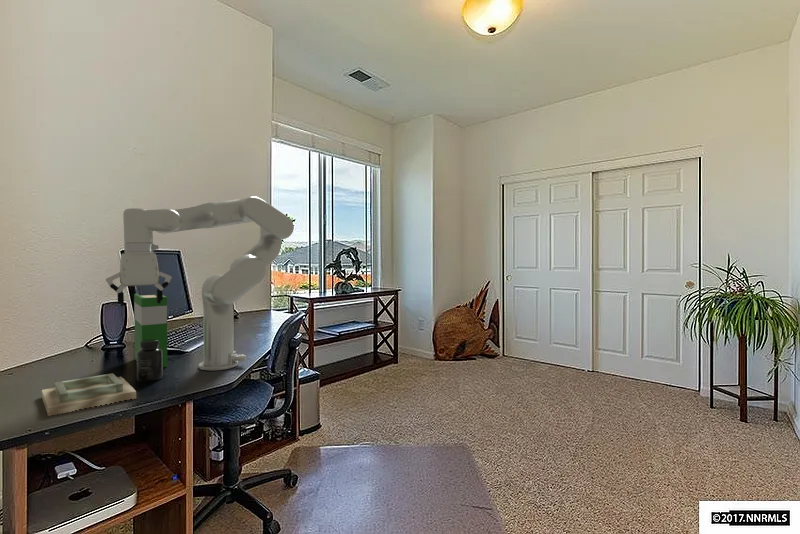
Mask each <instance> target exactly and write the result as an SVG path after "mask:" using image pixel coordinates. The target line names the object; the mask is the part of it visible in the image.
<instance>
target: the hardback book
mask: <svg viewBox="0 0 800 534" xmlns="http://www.w3.org/2000/svg"><path fill="white" fill-rule="evenodd" d="M162 295H163V300H161V303H157V297H156V292H155V293H154V294H148V295H147V294H146V295H140V294H138V293H134V296H133V298H134V300H133V303H134V305H133V306H134V307H133V308H134V312H133V313H134V317H133V318H134V361H135V360H136V361H137V352H138V351H139V350H141V348H140V346H141V345H140V342H141V341H143V340H151V339H156V340H158V341H159V346H158V348H160V349H161V350H162V360H163V368H167V367H168V296H165V295H164V294H162ZM136 361H135V362H136Z"/></svg>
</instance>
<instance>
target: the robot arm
mask: <svg viewBox="0 0 800 534" xmlns="http://www.w3.org/2000/svg"><path fill="white" fill-rule="evenodd" d="M122 217H123V219H122V220H123V241H124V243H123V245H124V248H123V249H124V250H123V251H124V253H121V256H120V261H119V262H120V264H119V272H117V273H115V274H113V275H110V276H108V277H107V278H105V281H106V282H107V284H108V286H109V287H110V288H111V289H112V290H113V291H115V292H116V293H117V303H118V304H120V307H124V306H125V300H124V299H125V295H124V292H123V291H124V290H125V288H126V287H141V286H142V287H143V286H154V287H156V289H157V290H156V292H155V293H156V297H157V303H161V300H163V295H164V294H163V290H165V288H167V287H168V286H169V283H170V282H171V281H172V278H173V276H171V275H170V274H168V273H164V272H162V271H160V270H159V263H158V257H157V254H156V252H155V253H154V251H156V250H159V245H157V244H154V233H153V232H156V233H158V234H162V235H164V234H171V233H172V234H173V233H178V232H183V231H184V232H185V231H190V230H191V231H192V230H199V229H203V230H204V229H214V228H220V227H226V226H233V225H239V224H247V223H252V222H253V223H255V224H256V225H258V226H259V227H260V228H259V230H260V232H259V233H260V236H259V240H258V242H257V243H256V244H255V245H253V246H252V247H251V248H250V249H248V250H247V251H246V252H244V253H243V254H242V255H240V256H238V257H236V259H234V260H233V261H232V263H231V264H230V267H229V270H228V271H227V272H225V273H224V274H212V275H211V276H208V277H207V278H206V279H205V280H204V282H203V284H202V286H201V300H202V306H203V307H202V309H203V316H202V317H203V361H201V362H199V363H198V368H199V370H202V371H212V372H213V371H222V370H229V369H233V368H234V367H237V366H238V365H239V362H246V361H247V356H246V355H245V354H238V353H237V350H234V347H235V345H234V332H235V331H234V328H235V325H234V322H235V321H234V319H235V318H234V303H235V302H237V301H238V300H240V299H242V298H243V297H244V296H245V295H246V294H248V293H249V292H250V291H251V290H253V289H254V288H255V287H257V285H259V284H260V283H261V282H262V281H263V280H264V278H265V276H266V274H267V267H268V266H269V265H270V264H271V263H273V262H274V260H276V259H277V258H278V256H279V255H280V252H281V249H282V242H283V241H282V240H285V239H287V238H290V237H291V236H292V234H293V233H294V224H293V221H292V220H291V219H290V217H288V216H287V215H286V214H284V213H283V212H282V211H280V210H278V209H277V208H275V207H274V206H273V205H271V204H270V203H269V202H267V201H266V200H264V199H262V198H260V197H258V196H254V195H253V196H248V197H244V198H237V199H231V200H222V201H220V200H219V201H211V202H210V201H209V202H206V203H202V204H198V205H195V206H190V207H185V208H177V209H171V208H161V209H160V208H158V209H146V208H138V207H136V208H134V207H131V208H126V209H124V210H123V214H122ZM160 277H162V278H164V279H165V280H164V282H163V283H162V284H160ZM118 278H119V282H120V285H119V286H117V285H116V284H115V283H114V282H113V281H114V280H116V279H118Z"/></svg>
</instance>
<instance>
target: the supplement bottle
mask: <svg viewBox="0 0 800 534" xmlns="http://www.w3.org/2000/svg"><path fill="white" fill-rule="evenodd" d="M140 345H141V346H140V348H141V350H139V351H138V352H137V362H136V381H137V382H139V383H151V382H157V381H160V380H161V379H162V378H163V374H164V373H163V371H164V370H163V368H164V367H163V360H162V350H161V349H160V348H158V346H159V341H158V340H156V339H151V340H143V341H141V342H140Z"/></svg>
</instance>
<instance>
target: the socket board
mask: <svg viewBox="0 0 800 534" xmlns="http://www.w3.org/2000/svg"><path fill="white" fill-rule="evenodd" d="M41 398H42V402H43V405H44V408H45V411H46V414H47V416H48V417H53V416H57V414H58V415H63V414H66V413H67V412H68V413H71V412H72V411H73V412H76V411H75V410H77V411H80V410H79V409H82V410H85V409H84V408H87V409H90V408H89V407H92V408H95V407H94V406H97V407H101V406H100V405H102V406H106V405H105V404H107V405H110V403H112V404H115V403H114V402H117V403H120V402H119V401H122V402H125V401H124V400H127V401H131V400H130V399H132V400H137V391H136V390H135V388H134V387H133V386H132V385H130V383H129V382H128V381H127V380H125V378H123V377H122V376H116V375H115V374H114V373H113V372H112V373H107V374H99V375H94V376H87V377H81V378H76V379H71V380H64V381H56V382H54V387H51V388H45V389H42V390H41ZM62 413H63V414H62ZM52 415H53V416H52Z"/></svg>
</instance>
